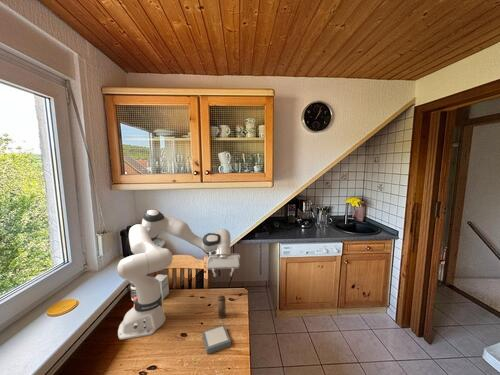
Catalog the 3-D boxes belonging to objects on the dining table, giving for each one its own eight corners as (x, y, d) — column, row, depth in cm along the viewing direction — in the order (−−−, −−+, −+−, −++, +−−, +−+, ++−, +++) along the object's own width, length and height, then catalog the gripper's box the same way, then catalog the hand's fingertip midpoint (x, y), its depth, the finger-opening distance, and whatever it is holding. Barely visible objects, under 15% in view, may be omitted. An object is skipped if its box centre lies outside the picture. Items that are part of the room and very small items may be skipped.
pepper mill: (219, 319, 118) (218, 300, 116) (217, 314, 121) (217, 296, 120) (226, 317, 119) (226, 298, 118) (224, 312, 123) (224, 294, 121)
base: (207, 354, 97) (207, 349, 96) (202, 336, 107) (202, 331, 106) (230, 345, 101) (230, 340, 101) (224, 329, 111) (224, 324, 111)
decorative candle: (148, 297, 137) (144, 260, 134) (131, 303, 132) (127, 264, 129) (145, 290, 145) (142, 255, 141) (130, 295, 140) (126, 258, 136)
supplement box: (162, 300, 134) (161, 281, 133) (152, 299, 136) (150, 280, 134) (169, 293, 142) (168, 275, 140) (159, 292, 143) (158, 274, 141)
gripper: (239, 254, 142) (240, 277, 133) (208, 256, 141) (206, 278, 132) (239, 251, 136) (240, 274, 128) (206, 252, 136) (205, 275, 127)
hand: (222, 276), depth 130 cm, fingers open, 8 cm apart
